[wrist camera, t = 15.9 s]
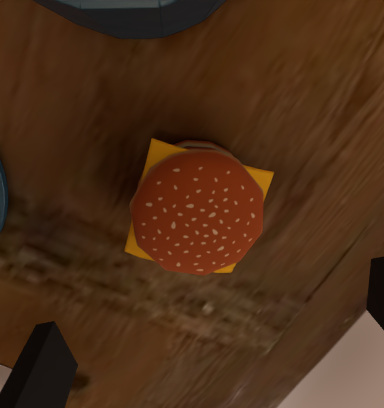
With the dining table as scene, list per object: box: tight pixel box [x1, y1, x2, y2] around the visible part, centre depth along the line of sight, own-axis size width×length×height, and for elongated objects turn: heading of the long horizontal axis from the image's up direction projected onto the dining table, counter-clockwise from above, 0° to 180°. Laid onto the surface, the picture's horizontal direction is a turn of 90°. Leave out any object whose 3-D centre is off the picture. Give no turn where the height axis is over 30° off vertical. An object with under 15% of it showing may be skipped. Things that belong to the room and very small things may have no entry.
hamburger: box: [125, 138, 274, 275], centre depth 21 cm, size 9×10×7 cm
